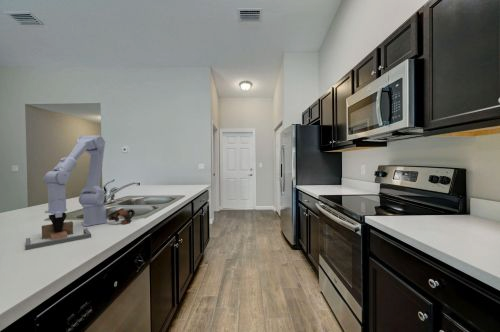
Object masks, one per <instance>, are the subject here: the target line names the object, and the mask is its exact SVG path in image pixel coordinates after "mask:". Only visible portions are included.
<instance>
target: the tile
mask: <svg viewBox="0 0 500 332" xmlns="http://www.w3.org/2000/svg"><path fill="white" fill-rule="evenodd" d="M50 237H51V238H50V240H55V239H61V238H66V237H68V235H67V232H66V231H62V232H58V233H50Z"/></svg>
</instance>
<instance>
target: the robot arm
mask: <svg viewBox="0 0 500 332" xmlns="http://www.w3.org/2000/svg"><path fill="white" fill-rule="evenodd" d="M105 147H106V141H105V139H104V138H103V136H102V135H80V136H78V138H77V140H76V145H75V146H74V147H73V149H72V150H71V151H70V153H69V155H68V156H65V157H62V158H60V160H59V162H58V163H57V165H55V167H53V169H52V170H49V171H47V172H46V173H45V175H44V177H43V178H42V179H43V182H44V184H45V185H46V188H47V201H48V208H47V210H44V214H49V215H48V218H49V220H50V221H51V224H53V228H54V231H55V233H58V232H62V228H63V223H64V222H65V220H66V218H67V214H66V212H67V211H68V209H67V196H66V195H67V192H66V191H67V189H66V188H67V187H66V184H68V183H69V181H70V175H71V173H72V172H73V171H74V169H75V167H77V165H78V163H77V161H78V160H79V158H80V157H82V155H83V154H84V153H85V152H86V153H87V154H89V155H90V159H89V166H88V174H87V180H86V186H85V187H84V188H82V189H81V191H80V195H79V196H78V203H79V205H81V207H82V209H83V210H82V211H83V217H82V218H83V222H81V224H82V226H83V227H88V226H94V225H102V224H106V223H107V207H106V204H104V202H105V190H104V189H103V188H102V187H101V186H100V184H101V178H102V177H101V176H102V169H103V163H104V162H103V161H104V152H105Z"/></svg>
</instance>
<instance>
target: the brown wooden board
mask: <svg viewBox="0 0 500 332" xmlns="http://www.w3.org/2000/svg"><path fill="white" fill-rule="evenodd" d="M62 231H66V232H67V236H68V235H71V234H74V222H73V221H70V220H69V221H64V223H63V228H62ZM50 233H55V231H54V228H53V224H52V223H51V224H43V225H41V239H42V240H44V239H45V240H46V239H51V237H50Z"/></svg>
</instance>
